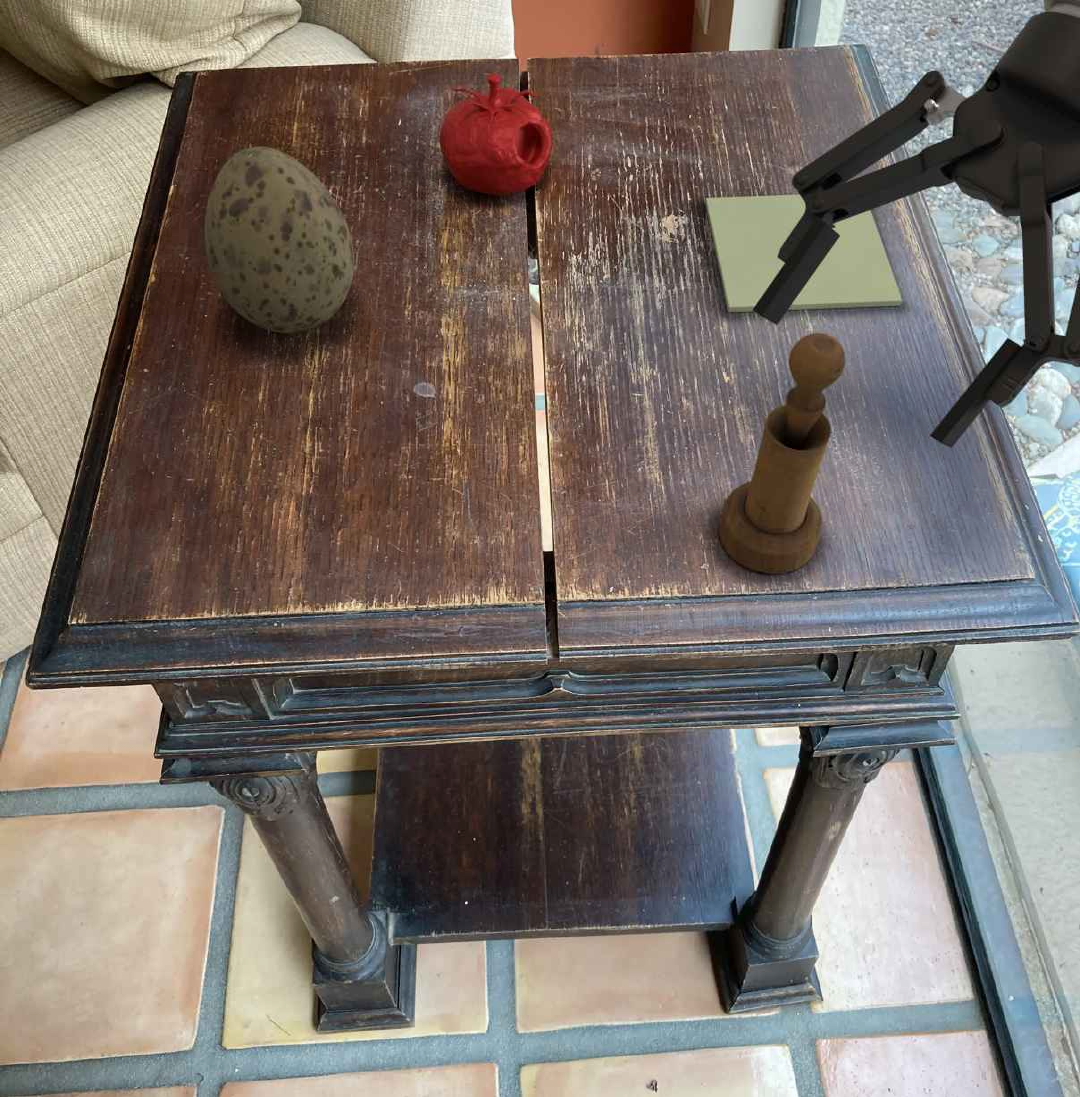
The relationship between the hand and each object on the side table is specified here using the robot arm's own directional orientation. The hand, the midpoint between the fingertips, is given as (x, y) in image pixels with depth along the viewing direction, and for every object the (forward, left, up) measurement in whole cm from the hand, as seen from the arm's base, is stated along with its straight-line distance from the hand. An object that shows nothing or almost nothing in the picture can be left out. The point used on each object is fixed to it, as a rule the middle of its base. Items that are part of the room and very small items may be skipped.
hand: (848, 377), depth 63 cm
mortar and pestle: (0, +4, -13) cm, 13 cm away
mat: (+18, -20, -12) cm, 30 cm away
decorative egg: (+40, +15, -13) cm, 45 cm away
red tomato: (+43, -9, -13) cm, 46 cm away
